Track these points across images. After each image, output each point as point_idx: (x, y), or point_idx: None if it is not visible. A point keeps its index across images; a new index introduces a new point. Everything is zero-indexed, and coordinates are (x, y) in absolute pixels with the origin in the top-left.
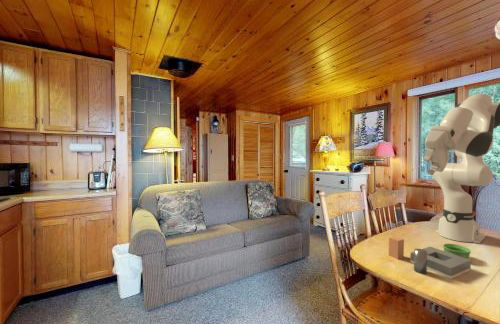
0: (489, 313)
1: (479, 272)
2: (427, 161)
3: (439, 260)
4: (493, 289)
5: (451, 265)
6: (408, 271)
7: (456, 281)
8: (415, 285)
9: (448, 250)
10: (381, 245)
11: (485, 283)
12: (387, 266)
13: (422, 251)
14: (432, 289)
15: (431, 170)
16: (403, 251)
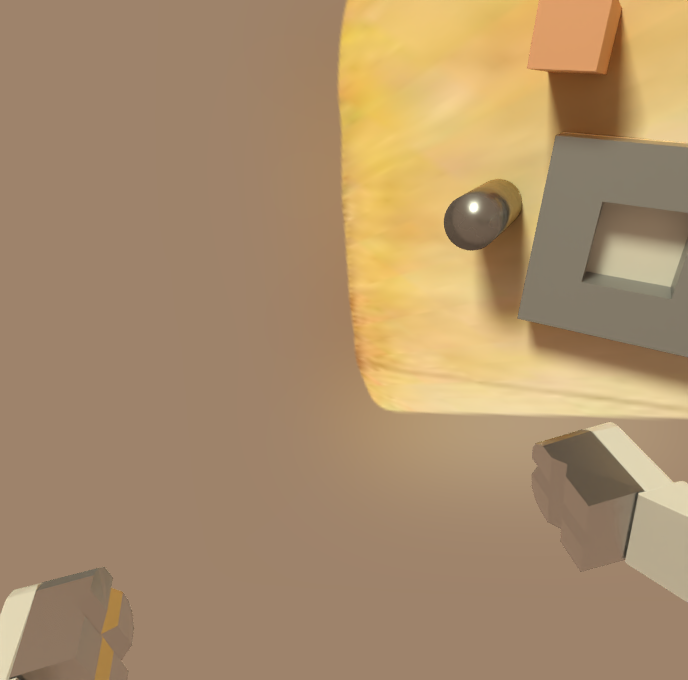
0: (394, 402)
1: None
2: (115, 602)
3: (569, 265)
4: (563, 411)
5: (550, 313)
6: (452, 174)
7: (522, 320)
8: (369, 236)
9: None
10: None
11: (597, 392)
12: (421, 94)
13: (468, 231)
14: (391, 280)
15: (576, 524)
16: (601, 73)
